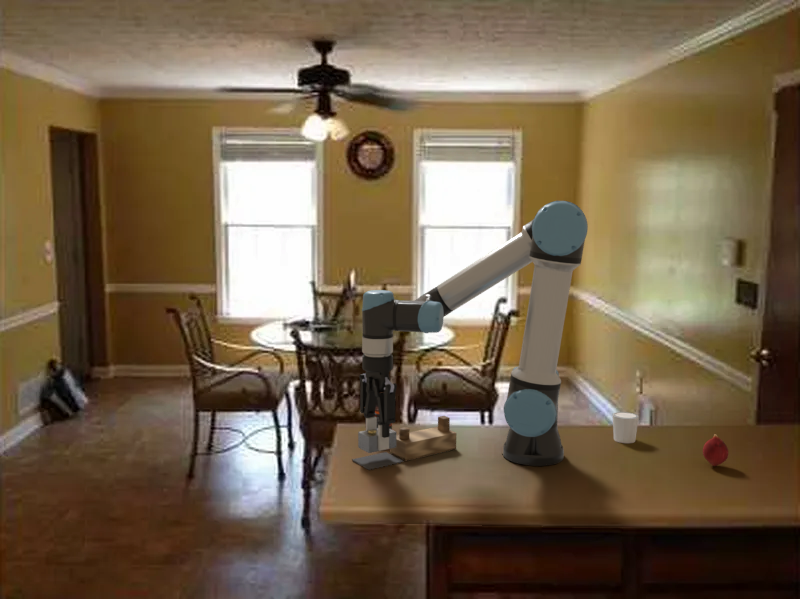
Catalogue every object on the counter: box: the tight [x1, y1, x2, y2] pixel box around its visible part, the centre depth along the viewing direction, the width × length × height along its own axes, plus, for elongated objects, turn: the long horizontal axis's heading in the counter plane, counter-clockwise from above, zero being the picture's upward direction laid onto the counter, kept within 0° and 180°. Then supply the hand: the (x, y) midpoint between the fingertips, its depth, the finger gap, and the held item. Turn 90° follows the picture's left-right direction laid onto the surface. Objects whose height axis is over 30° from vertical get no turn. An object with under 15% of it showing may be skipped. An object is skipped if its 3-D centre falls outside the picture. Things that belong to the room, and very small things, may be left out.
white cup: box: [611, 411, 640, 444], centre depth 209 cm, size 7×7×7 cm
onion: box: [702, 433, 729, 467], centre depth 189 cm, size 6×6×8 cm
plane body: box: [389, 415, 457, 462], centre depth 199 cm, size 16×7×8 cm, turn 124°
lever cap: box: [357, 428, 397, 454], centre depth 191 cm, size 5×8×4 cm, turn 124°
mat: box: [351, 451, 404, 471], centre depth 192 cm, size 8×10×1 cm
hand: (377, 445), depth 191 cm, fingers closed on lever cap, 5 cm apart
